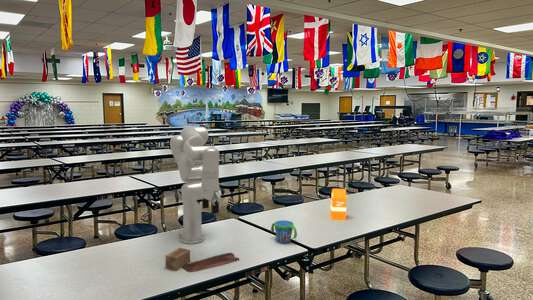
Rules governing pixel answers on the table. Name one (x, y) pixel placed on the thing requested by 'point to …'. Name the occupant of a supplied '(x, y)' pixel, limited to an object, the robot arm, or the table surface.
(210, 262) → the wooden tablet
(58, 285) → the table surface
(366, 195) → the table surface
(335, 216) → the orange juice
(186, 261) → the walnut block
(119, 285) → the table surface
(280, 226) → the snack cup
